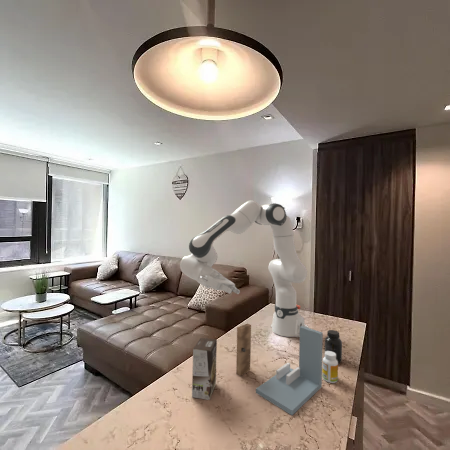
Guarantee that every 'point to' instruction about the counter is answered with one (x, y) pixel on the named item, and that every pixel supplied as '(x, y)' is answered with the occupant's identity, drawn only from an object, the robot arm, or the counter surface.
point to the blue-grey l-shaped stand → (297, 375)
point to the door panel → (243, 349)
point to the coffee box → (204, 368)
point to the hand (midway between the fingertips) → (235, 292)
